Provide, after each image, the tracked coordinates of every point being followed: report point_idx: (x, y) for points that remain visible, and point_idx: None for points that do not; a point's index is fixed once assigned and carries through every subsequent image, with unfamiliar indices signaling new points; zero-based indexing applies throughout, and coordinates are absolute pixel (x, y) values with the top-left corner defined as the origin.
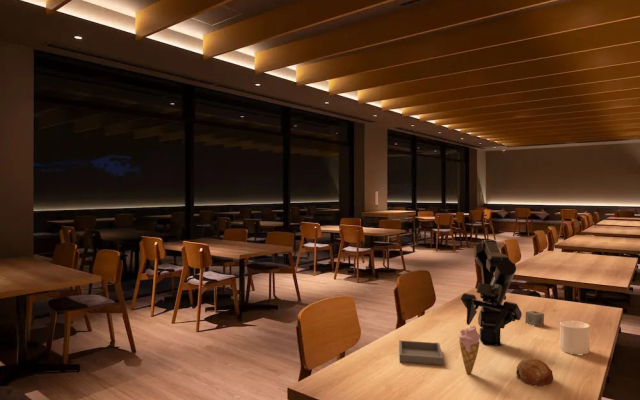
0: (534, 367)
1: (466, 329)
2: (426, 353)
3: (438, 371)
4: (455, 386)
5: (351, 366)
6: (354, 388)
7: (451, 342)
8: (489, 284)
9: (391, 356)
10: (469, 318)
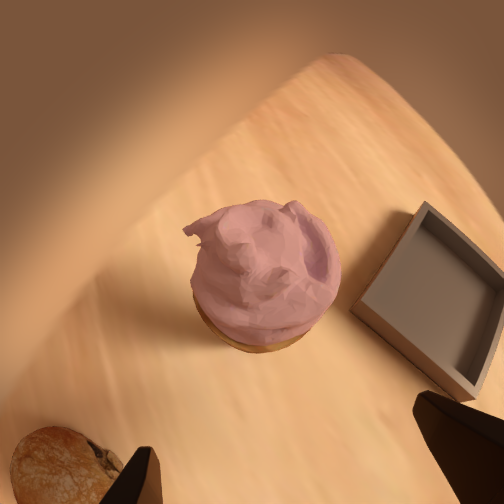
0: (26, 454)
1: (272, 209)
2: (447, 330)
3: None
4: None
5: (411, 129)
6: (318, 83)
7: None
8: None
9: None
10: (448, 421)
